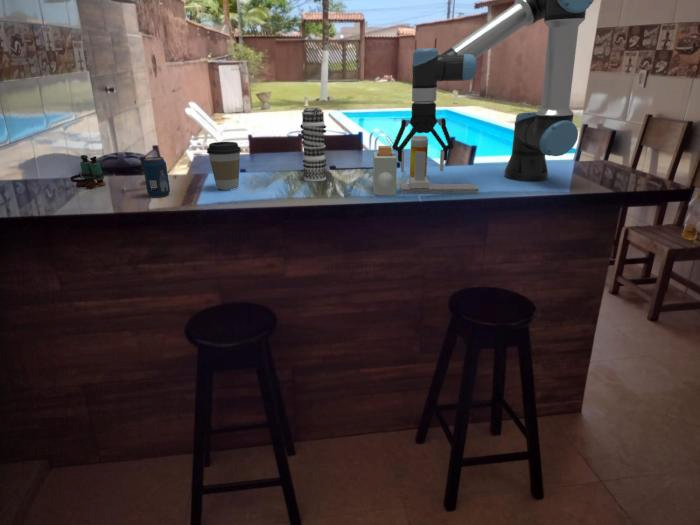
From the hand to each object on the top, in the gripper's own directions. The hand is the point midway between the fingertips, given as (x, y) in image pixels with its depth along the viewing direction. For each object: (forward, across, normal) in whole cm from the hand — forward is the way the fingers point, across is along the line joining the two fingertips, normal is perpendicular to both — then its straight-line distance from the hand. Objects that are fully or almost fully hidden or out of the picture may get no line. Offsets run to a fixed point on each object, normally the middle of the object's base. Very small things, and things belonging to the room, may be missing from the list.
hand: (421, 171), depth 163 cm
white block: (+6, +12, 0) cm, 14 cm away
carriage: (+5, +1, 0) cm, 5 cm away
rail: (+7, -6, 0) cm, 9 cm away
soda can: (+5, +86, +5) cm, 86 cm away
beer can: (+7, -1, -20) cm, 21 cm away
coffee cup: (+5, +66, -5) cm, 66 cm away
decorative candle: (+6, +37, -19) cm, 42 cm away
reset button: (-3, +12, 0) cm, 13 cm away
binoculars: (+5, +115, -7) cm, 115 cm away
